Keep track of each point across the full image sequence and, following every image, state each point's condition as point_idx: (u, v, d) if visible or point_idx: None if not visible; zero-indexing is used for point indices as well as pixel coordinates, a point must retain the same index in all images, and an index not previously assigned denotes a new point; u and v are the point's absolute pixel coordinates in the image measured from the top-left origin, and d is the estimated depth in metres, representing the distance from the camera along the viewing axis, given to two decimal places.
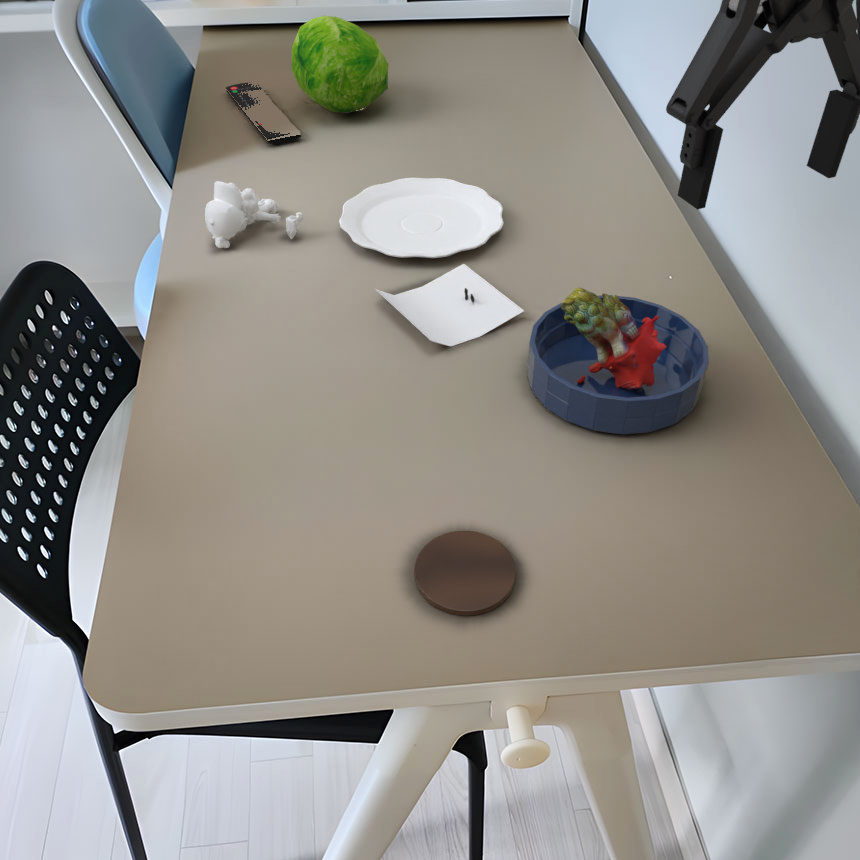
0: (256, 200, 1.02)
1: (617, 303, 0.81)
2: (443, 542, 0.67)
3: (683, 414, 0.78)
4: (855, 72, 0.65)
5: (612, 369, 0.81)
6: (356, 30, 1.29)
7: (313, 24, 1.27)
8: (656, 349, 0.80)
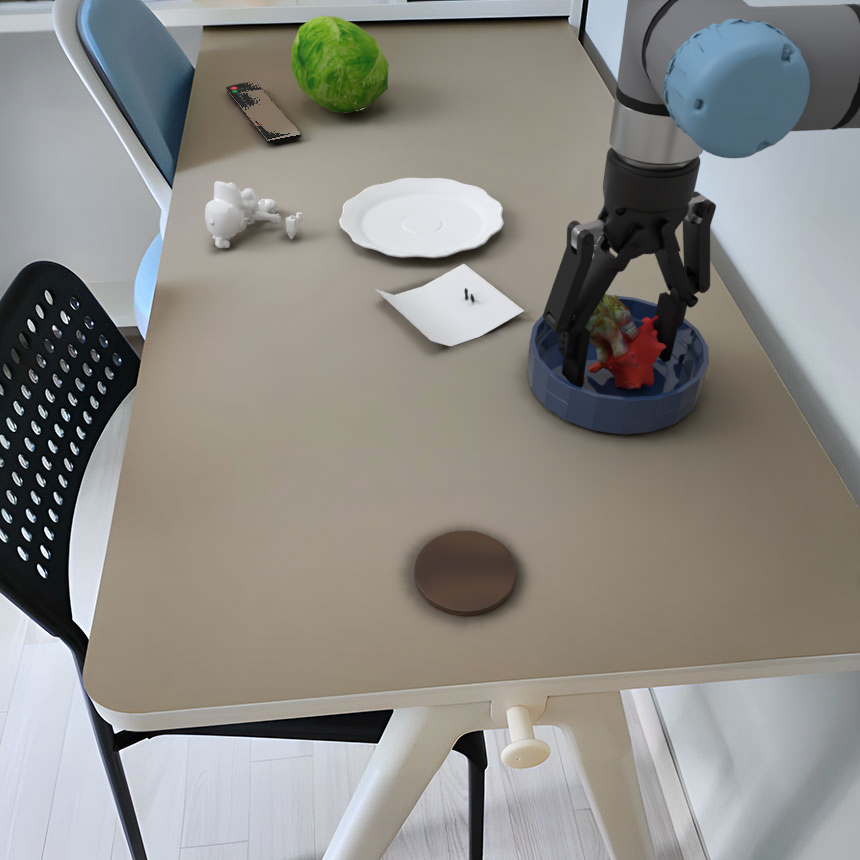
0: (256, 200, 1.02)
1: (617, 303, 0.81)
2: (443, 542, 0.67)
3: (683, 414, 0.78)
4: (677, 283, 0.77)
5: (612, 369, 0.81)
6: (356, 30, 1.29)
7: (313, 24, 1.27)
8: (655, 349, 0.80)
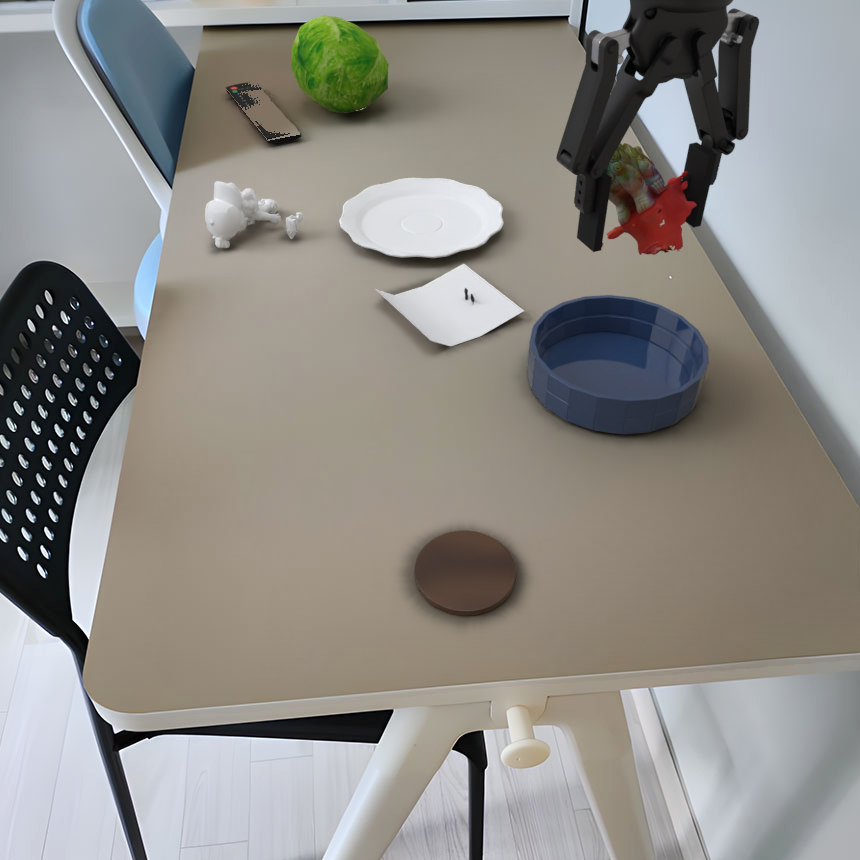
0: (256, 200, 1.02)
1: (640, 155, 0.70)
2: (443, 542, 0.67)
3: (683, 414, 0.78)
4: (712, 122, 0.66)
5: (634, 230, 0.70)
6: (356, 30, 1.29)
7: (313, 24, 1.27)
8: (685, 207, 0.70)
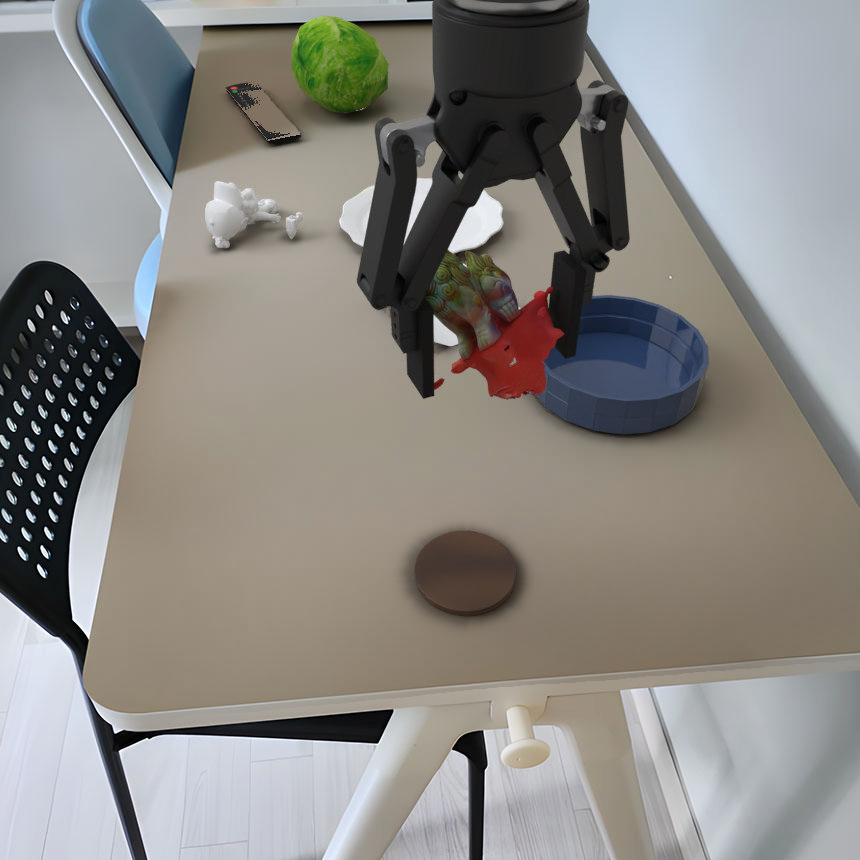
0: (256, 200, 1.02)
1: (488, 266, 0.52)
2: (443, 542, 0.67)
3: (683, 414, 0.78)
4: (574, 232, 0.49)
5: (480, 368, 0.52)
6: (356, 30, 1.29)
7: (313, 24, 1.27)
8: (547, 338, 0.52)
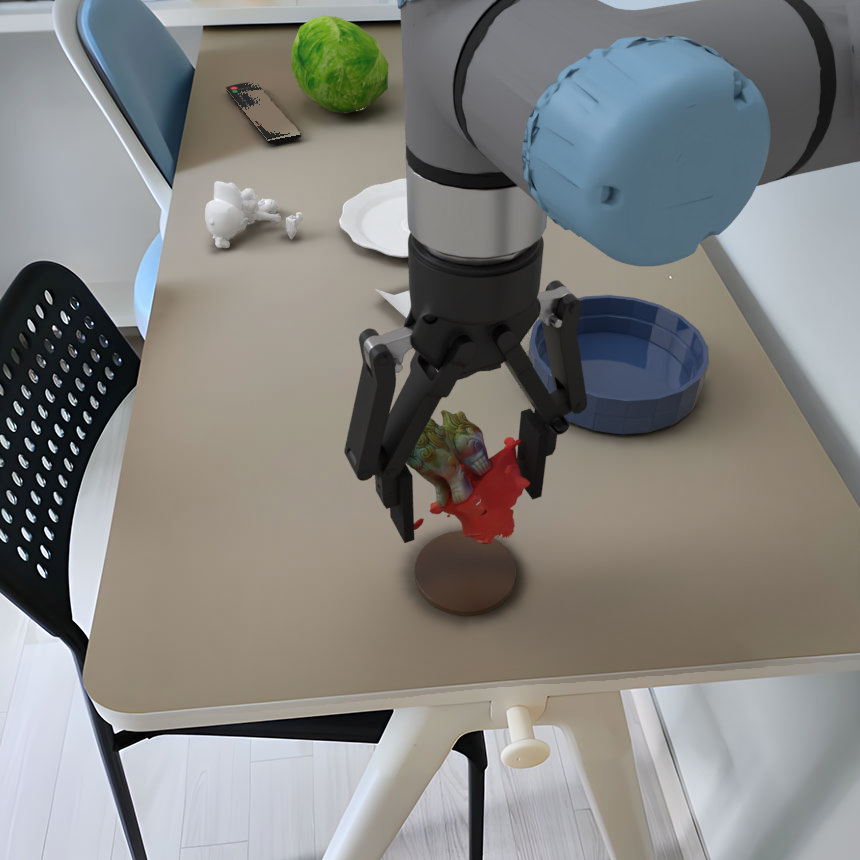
0: (256, 200, 1.02)
1: (462, 423, 0.59)
2: (443, 542, 0.67)
3: (683, 414, 0.78)
4: (537, 404, 0.55)
5: (455, 514, 0.59)
6: (356, 30, 1.29)
7: (313, 24, 1.27)
8: (515, 487, 0.58)
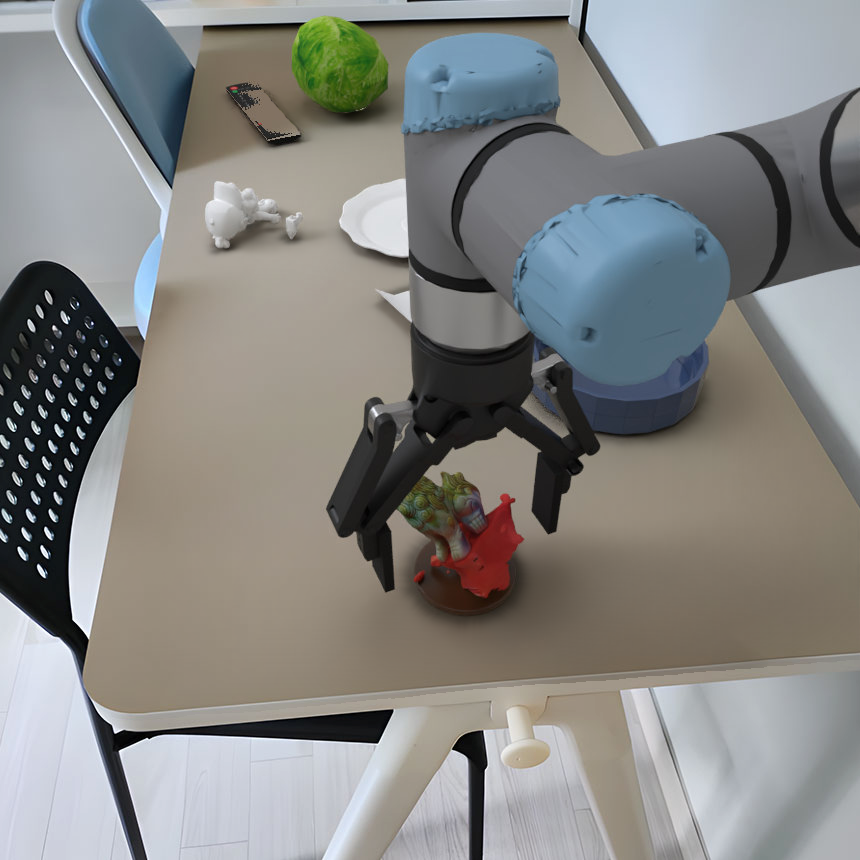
0: (256, 200, 1.02)
1: (460, 484, 0.63)
2: None
3: (683, 414, 0.78)
4: (548, 454, 0.59)
5: (454, 569, 0.63)
6: (356, 30, 1.29)
7: (313, 24, 1.27)
8: (510, 544, 0.62)
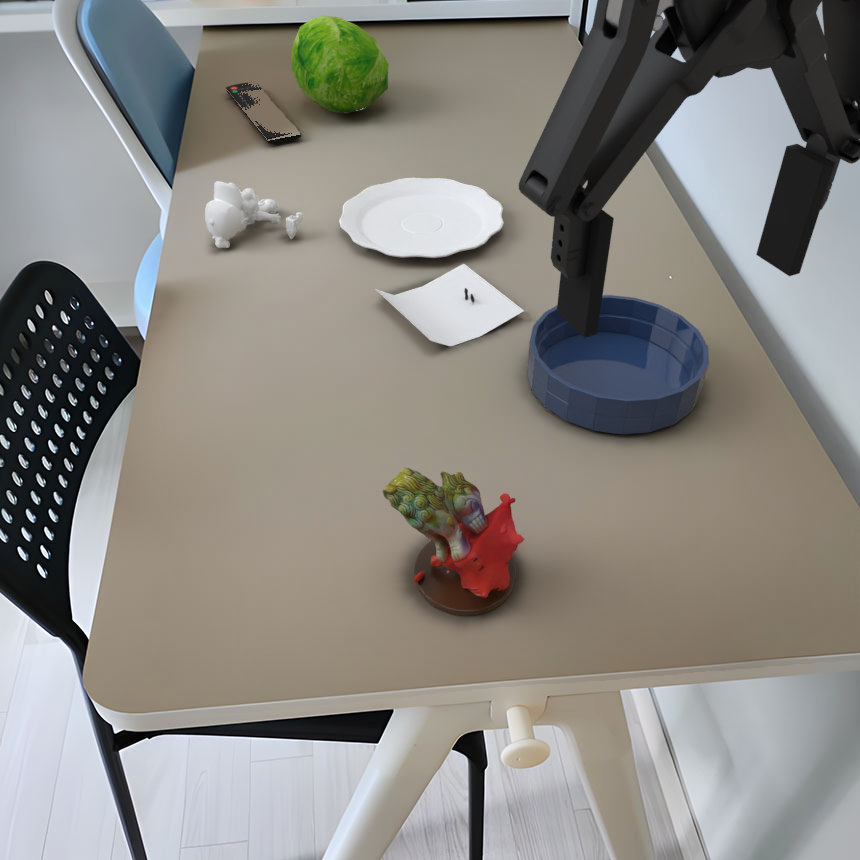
0: (256, 200, 1.02)
1: (460, 484, 0.63)
2: None
3: (683, 414, 0.78)
4: (825, 120, 0.41)
5: (454, 569, 0.63)
6: (356, 30, 1.29)
7: (313, 24, 1.27)
8: (510, 544, 0.62)
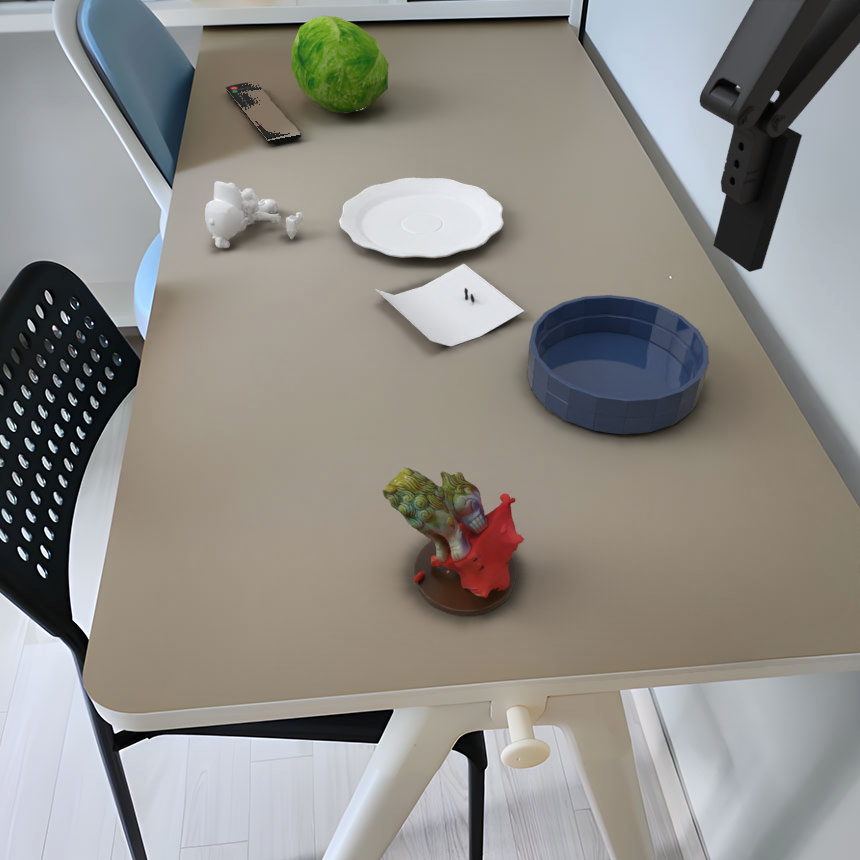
0: (256, 200, 1.02)
1: (460, 484, 0.63)
2: None
3: (683, 414, 0.78)
4: None
5: (454, 569, 0.63)
6: (356, 30, 1.29)
7: (313, 24, 1.27)
8: (510, 544, 0.62)
